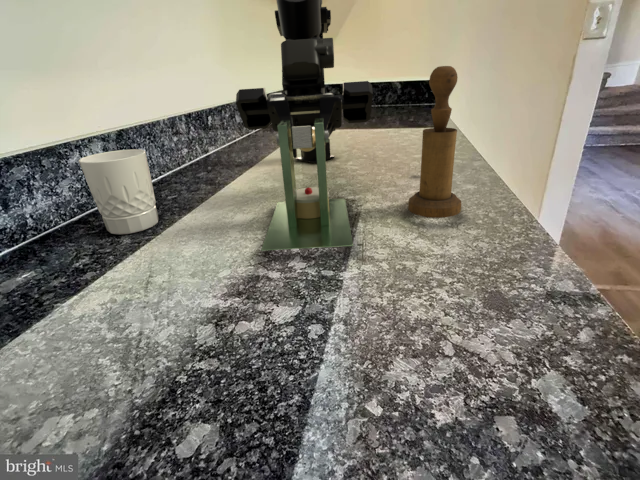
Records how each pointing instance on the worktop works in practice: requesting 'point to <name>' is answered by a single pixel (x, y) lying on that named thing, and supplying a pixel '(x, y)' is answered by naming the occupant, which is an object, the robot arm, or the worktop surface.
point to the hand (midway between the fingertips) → (306, 155)
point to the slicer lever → (303, 138)
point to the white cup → (122, 189)
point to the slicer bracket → (285, 221)
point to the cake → (308, 203)
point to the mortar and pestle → (438, 153)
